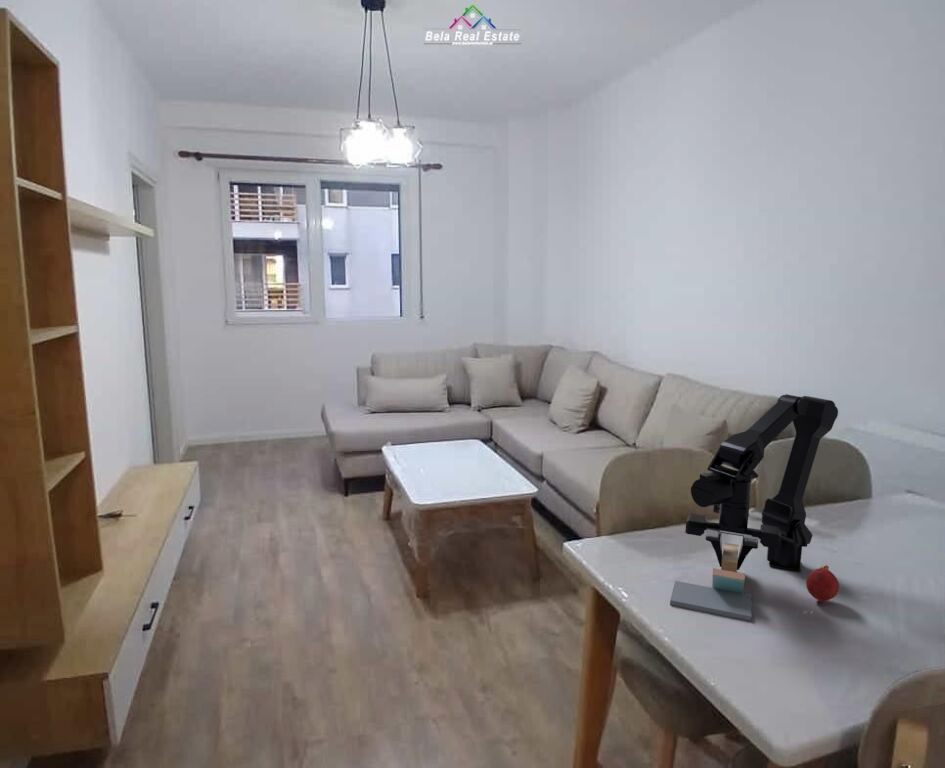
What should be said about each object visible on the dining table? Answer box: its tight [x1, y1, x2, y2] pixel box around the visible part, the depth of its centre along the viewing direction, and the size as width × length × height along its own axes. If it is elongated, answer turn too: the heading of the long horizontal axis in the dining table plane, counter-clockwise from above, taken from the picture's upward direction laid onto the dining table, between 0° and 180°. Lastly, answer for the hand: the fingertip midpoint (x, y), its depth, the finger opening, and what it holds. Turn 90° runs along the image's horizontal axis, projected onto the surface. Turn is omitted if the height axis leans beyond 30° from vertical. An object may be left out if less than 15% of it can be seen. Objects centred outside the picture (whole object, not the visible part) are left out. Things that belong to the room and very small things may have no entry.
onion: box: [805, 564, 840, 603], centre depth 128 cm, size 6×6×8 cm
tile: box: [711, 568, 746, 594], centre depth 129 cm, size 6×2×8 cm
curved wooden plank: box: [720, 542, 740, 572], centre depth 136 cm, size 12×3×4 cm, turn 156°
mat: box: [669, 580, 753, 622], centre depth 128 cm, size 15×9×1 cm, turn 66°
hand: (729, 567), depth 136 cm, fingers closed on curved wooden plank, 3 cm apart
